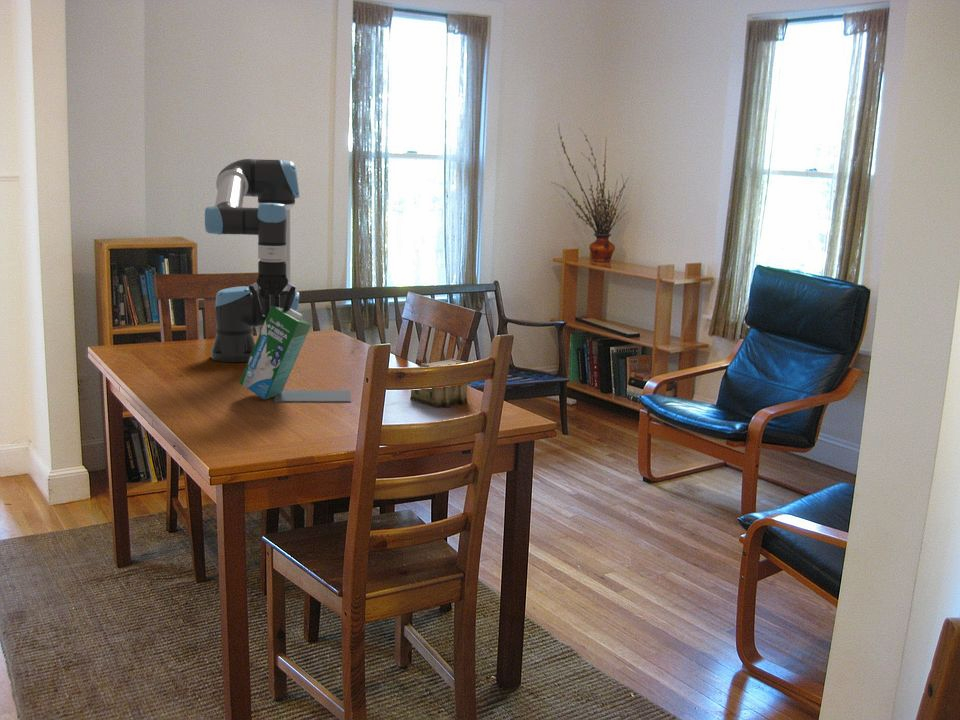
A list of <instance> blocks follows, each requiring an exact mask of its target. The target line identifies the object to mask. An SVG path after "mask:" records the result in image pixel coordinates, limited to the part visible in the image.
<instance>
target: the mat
mask: <svg viewBox="0 0 960 720" xmlns="http://www.w3.org/2000/svg"><path fill="white" fill-rule="evenodd" d="M273 402H274V403H352V397H351V390H350V389H346V390H345V389H344V390H343V389H342V390H341V389H335V390H334V389H331V390H329V389H326V390H324V389H283V391H282V393H281V394H278V395H276V396H274V399H273Z"/></svg>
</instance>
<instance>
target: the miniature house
mask: <svg viewBox="0 0 960 720" xmlns="http://www.w3.org/2000/svg"><path fill="white" fill-rule="evenodd" d="M465 362H466V361H463V360H457V359H455V358H448V359H446V360H440V361H434V362H428V363H424V362H423V363H421V364H420V368H421V367H429V366H437V365H448V364H456V363H465ZM467 396H468V383H467V384H465V385H457V386H451V387H443V388H432V389H421V390H411V389H410V397H409V399H410V400H411V401H414V402H416V401H417V403H420V404H423V405H427V406H430V407H433V408H437V409H441V408H445V409H449V408H451V406H454V405H458V404H459V405H462V406H463V405H466V403H467V402H468V397H467Z"/></svg>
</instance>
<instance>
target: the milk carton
mask: <svg viewBox="0 0 960 720" xmlns="http://www.w3.org/2000/svg"><path fill="white" fill-rule="evenodd" d="M311 327H312V324H311V323H310V322H307V321H306V320H304V319H303V314H302V313H300V312H299V311H298V312H297V311H295V310H293V309H289V311H288V312H287V311H286V310H284V309H283V308H279V307H275V306H271V308H270V311H269V313H268V315H267V318H266V320H265V323H264V325H263V327H261V330H260V333H259V334H258V337H257V340H256V341H255V343H256V344H255V347H254V349H253V351H252V354H251V356H250V359H249V361H247V364H246V366H245V368H244V370H243V373H242V375H241V378H240V380H239V383H238V384H239V385H241V386H243V387H244V388H245V389H248V390H249V391H251V392H252V393H253V394H255V395H257V396H258V397H259V398H262V399H263V400H267V399H270V398H273V397H275V396H276V395H278V394H281V393H282V391H283V390H285V389H284V388H285V386H286V384H287V382H288V379H289V377H290V374H291V372H292V370H293V368H294V365H295V364H296V361H297V358H298V357H299V354H300V351H301V350H302V347H303V345H304V343H305V340H306V337H307V336H308V333H309V330H310V329H311Z"/></svg>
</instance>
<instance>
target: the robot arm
mask: <svg viewBox="0 0 960 720" xmlns="http://www.w3.org/2000/svg"><path fill="white" fill-rule="evenodd" d="M215 181H216V183H215V186H216V190H217V195H216V199H215V204H214V206H207V207H205V209H204V229H205V231H206V232H207V233H208V234H214V235H218V236H219V235H247V236H248V235H249V236H257V237H258V238H257V239H258V242H257V244H258V245H257V258H258V259H259V261H258V262H257V265H258V266H257V269H258V272H257V273H258V275H257V278H256V282H254V283H253V284H250V285H248V286H244V285H243V286H233V287H228V288H227V287H226V288H224V289H221V290H219V291H217V292H216V294H215V304H214V306H215V338H214V340H213V344H212V347H211V351H210V357H211V358H212V360H213V361H216V362H221V363H245V362H248V361H249V359H250V356H251V354H252V351H253V349H254V347H255V344H256V341H255V337H254V332H253V330H254V329H253V328H255V327H257V328H259V327H261V328H262V327H263V325H264V323H265V320H266V318H267V315H268V313H269V311H270V308H271V306H275V307H279V308H283V309H284V310H286V311H287V312H288V311H289V309H293V310H295V311H297V312H298V313H299V301H300V292H299V291H297V287H296V285H294V283H293V282H291V209H292V207H293V206H294V205H295V204H296V199H298V198H300V191H299V188H300V187H299V182H298V174H297V167H296V164H295V162H293V161H291V160H284V159H260V158H259V159H255V158H254V159H252V158H243V159H238V160H236V161H233V162H231V163H230V164H228V165H226V166H225V167H224V168H222V169H221V171H220V172H219V173H218V175H217V177H216V180H215ZM244 197H255V198H257V203H258V206H257V207H243V203H244ZM211 358H210V359H211Z"/></svg>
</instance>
